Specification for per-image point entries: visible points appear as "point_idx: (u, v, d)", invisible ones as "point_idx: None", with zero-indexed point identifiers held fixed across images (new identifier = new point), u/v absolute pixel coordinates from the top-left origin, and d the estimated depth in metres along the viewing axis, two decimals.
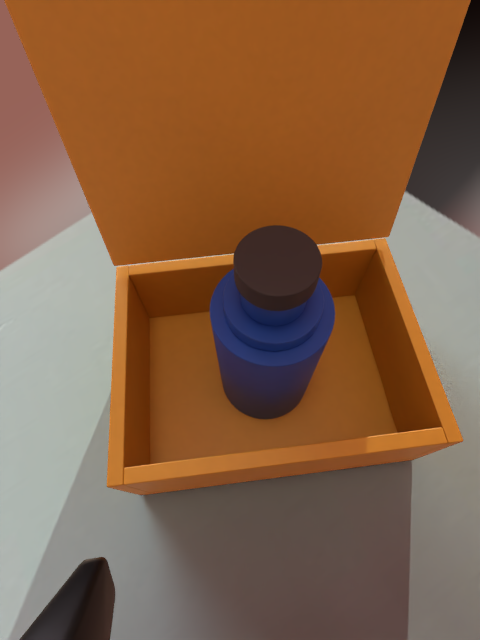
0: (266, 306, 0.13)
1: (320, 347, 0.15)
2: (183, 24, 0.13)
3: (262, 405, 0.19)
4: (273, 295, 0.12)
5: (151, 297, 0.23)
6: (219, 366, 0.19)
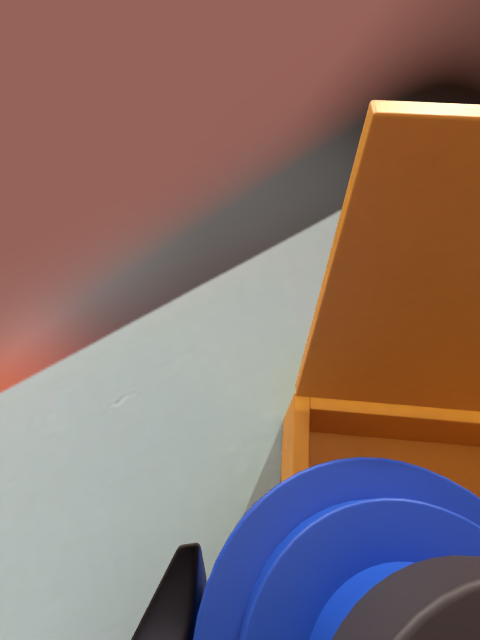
0: None
1: None
2: None
3: None
4: None
5: (316, 422, 0.19)
6: None
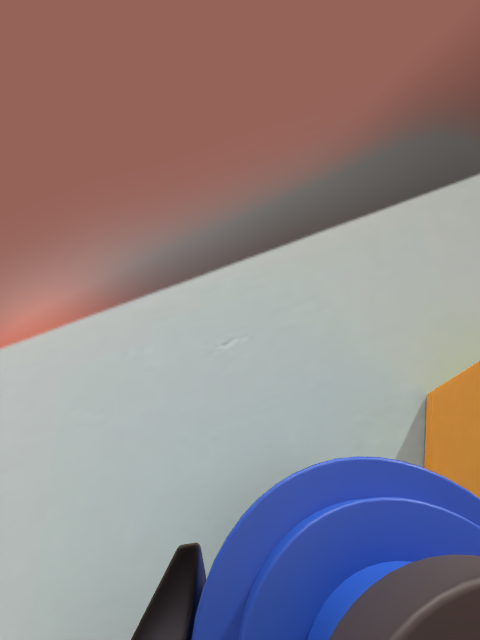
0: None
1: None
2: None
3: None
4: None
5: None
6: None
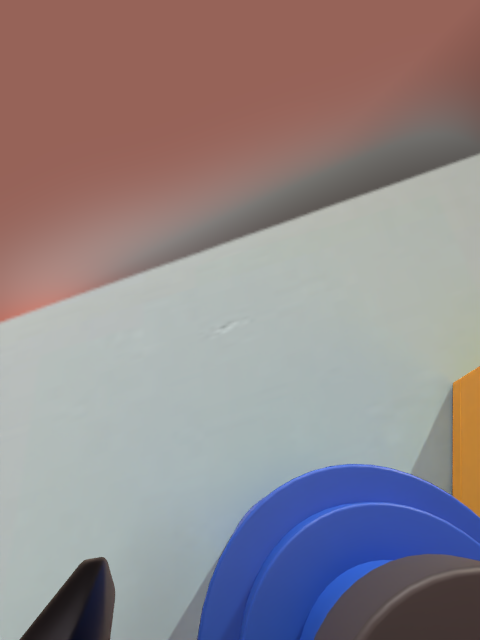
0: None
1: None
2: None
3: None
4: None
5: None
6: None
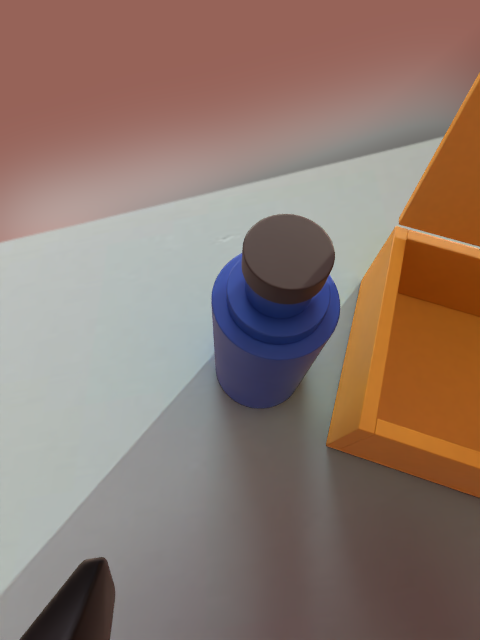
0: (273, 299, 0.12)
1: (323, 343, 0.14)
2: None
3: (256, 396, 0.19)
4: (283, 288, 0.12)
5: None
6: (215, 353, 0.19)
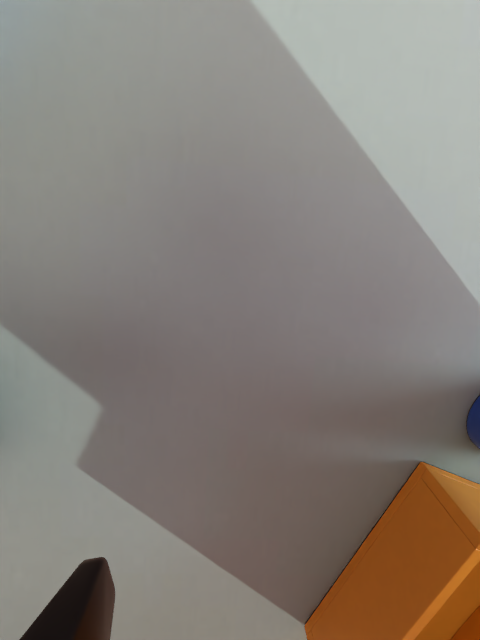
0: None
1: None
2: None
3: None
4: None
5: None
6: None
